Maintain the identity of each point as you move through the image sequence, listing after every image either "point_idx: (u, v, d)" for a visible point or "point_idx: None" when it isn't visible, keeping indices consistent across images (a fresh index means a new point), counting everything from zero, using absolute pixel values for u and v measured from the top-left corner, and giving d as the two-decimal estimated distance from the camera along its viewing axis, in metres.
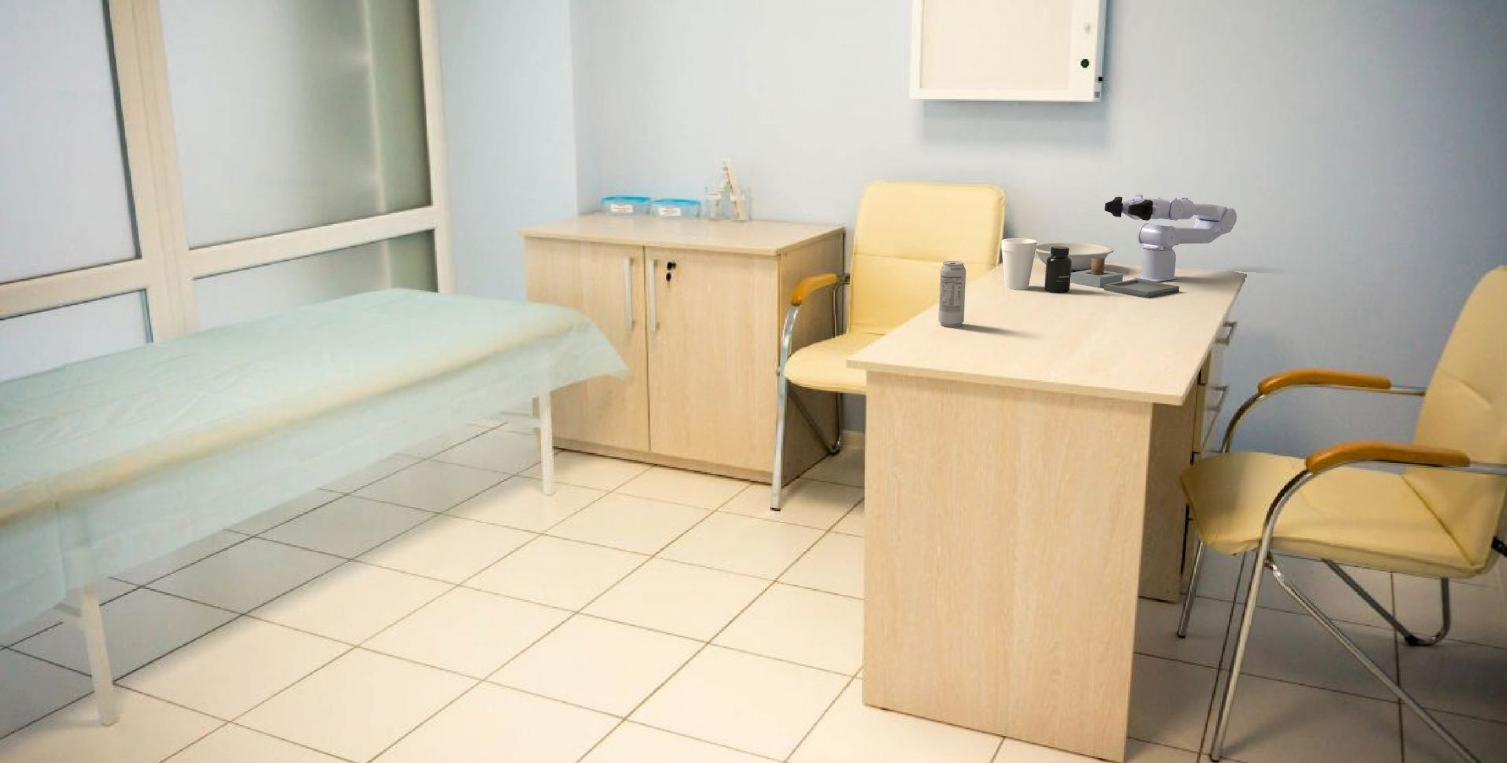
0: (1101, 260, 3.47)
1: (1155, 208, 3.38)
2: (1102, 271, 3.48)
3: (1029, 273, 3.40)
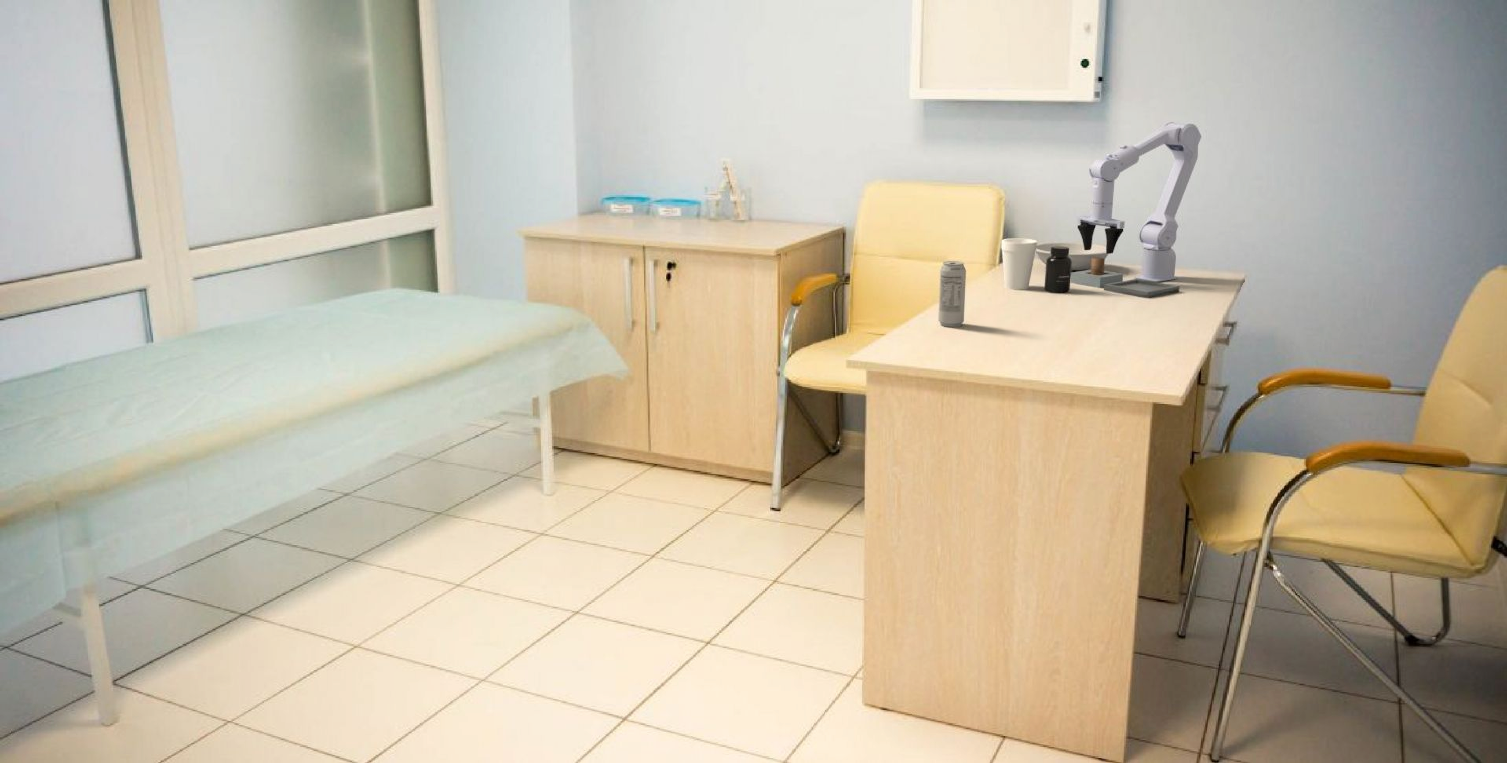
0: (1101, 260, 3.47)
1: (1119, 228, 3.40)
2: (1102, 271, 3.48)
3: (1029, 273, 3.40)
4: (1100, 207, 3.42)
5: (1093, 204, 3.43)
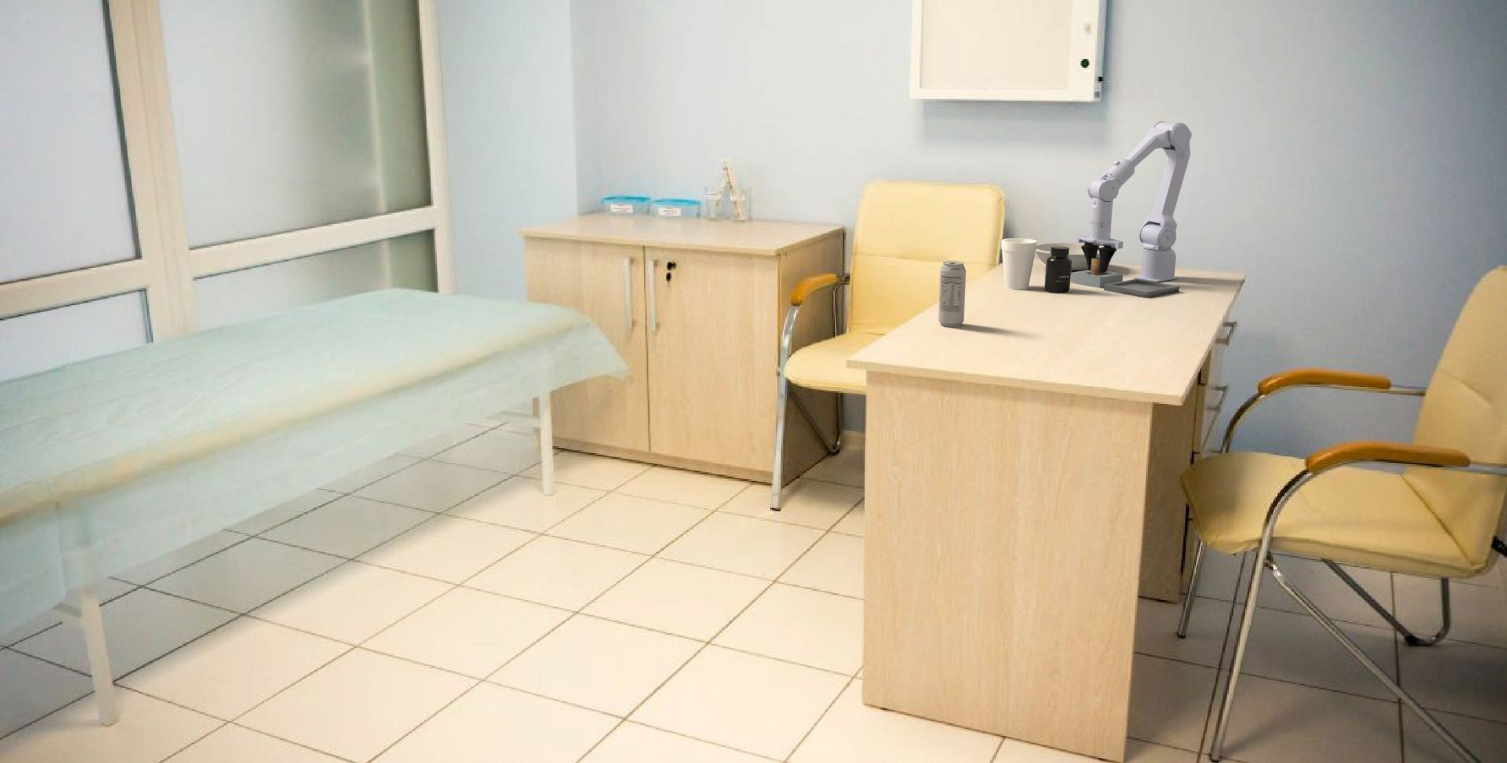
0: None
1: (1118, 248, 3.42)
2: None
3: (1029, 273, 3.40)
4: (1099, 227, 3.44)
5: (1092, 224, 3.45)
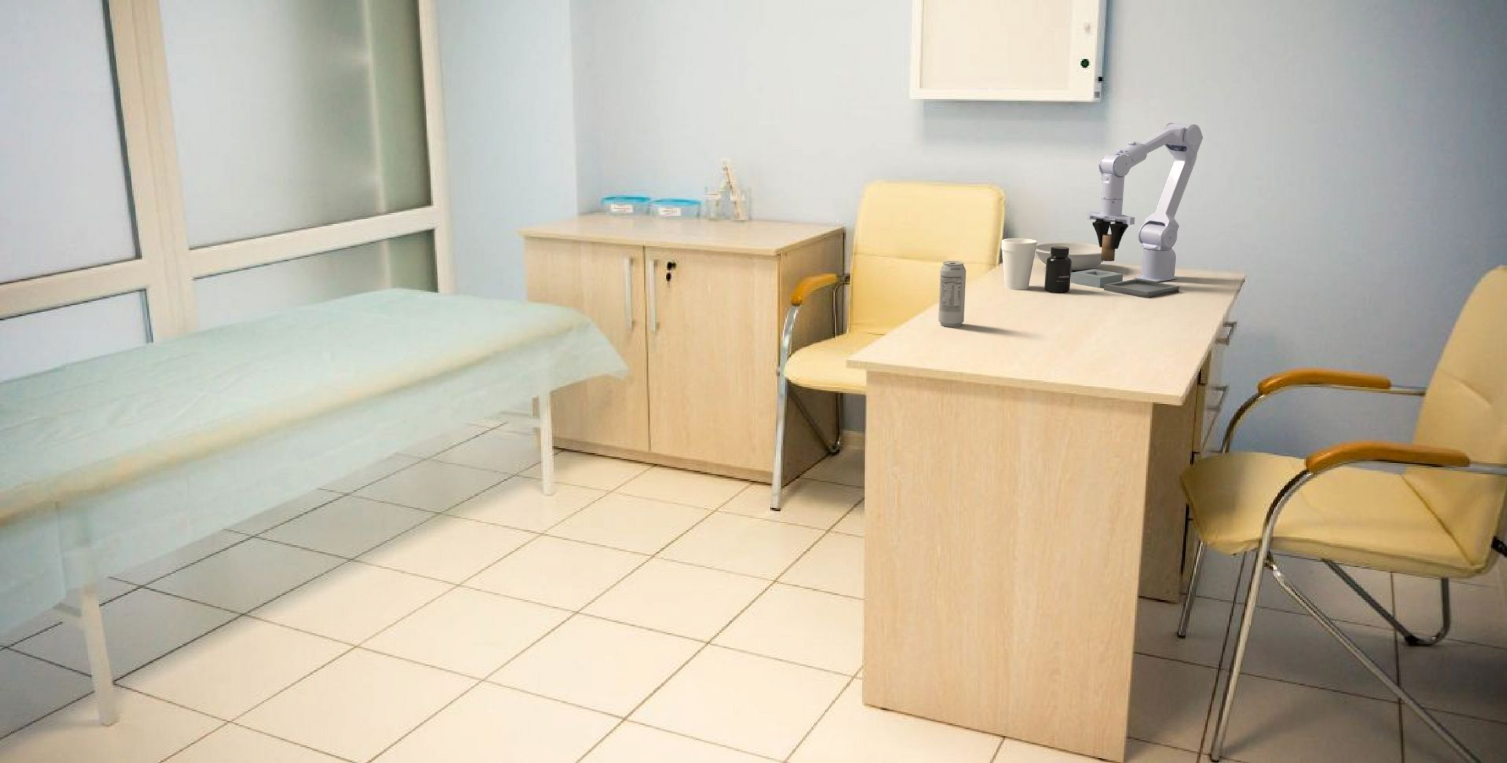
0: None
1: (1129, 224, 3.37)
2: None
3: (1029, 273, 3.40)
4: (1110, 203, 3.39)
5: (1103, 200, 3.41)
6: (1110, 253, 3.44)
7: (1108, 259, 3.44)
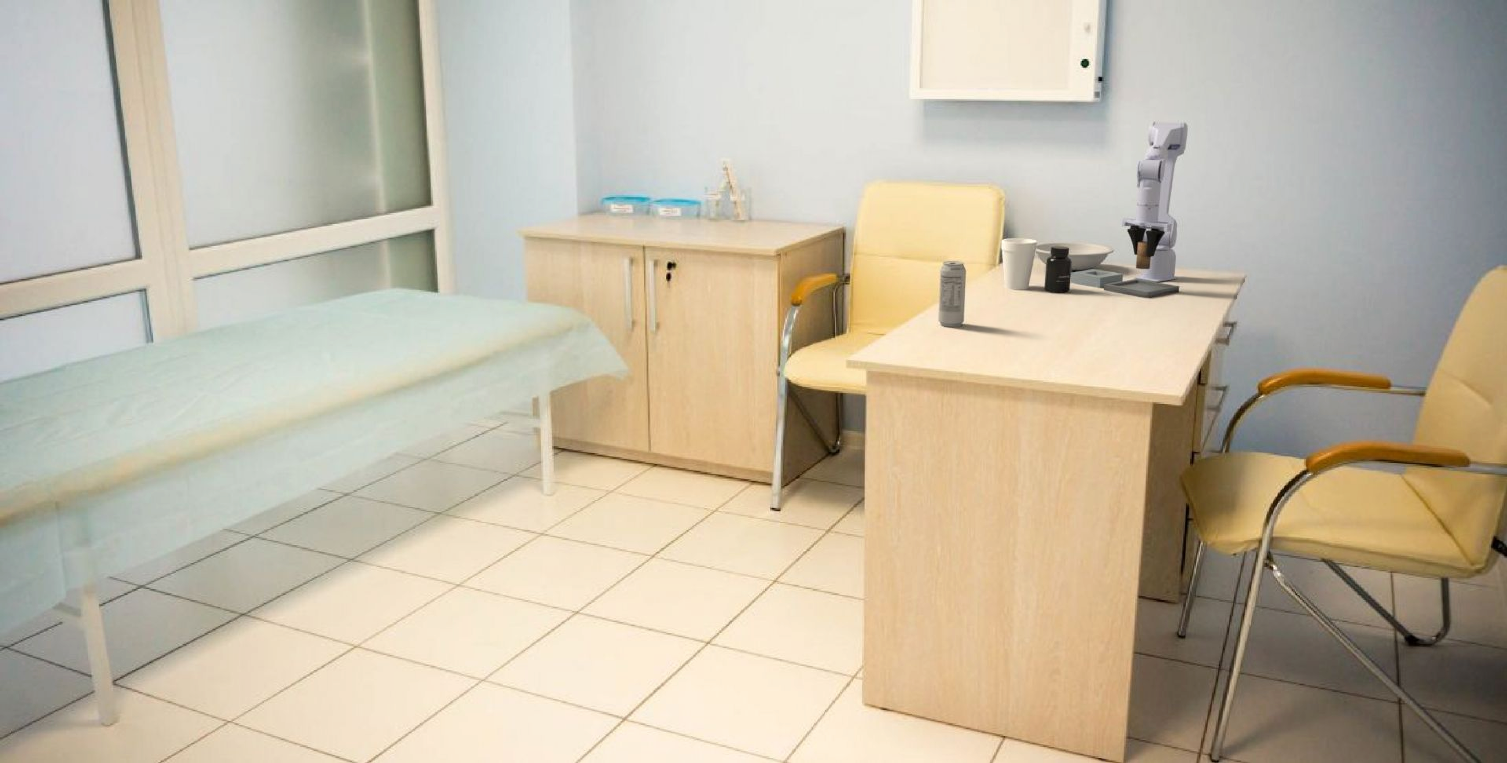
0: None
1: (1166, 231, 3.28)
2: None
3: (1029, 273, 3.40)
4: (1146, 209, 3.30)
5: (1139, 206, 3.32)
6: (1145, 260, 3.35)
7: (1144, 267, 3.35)
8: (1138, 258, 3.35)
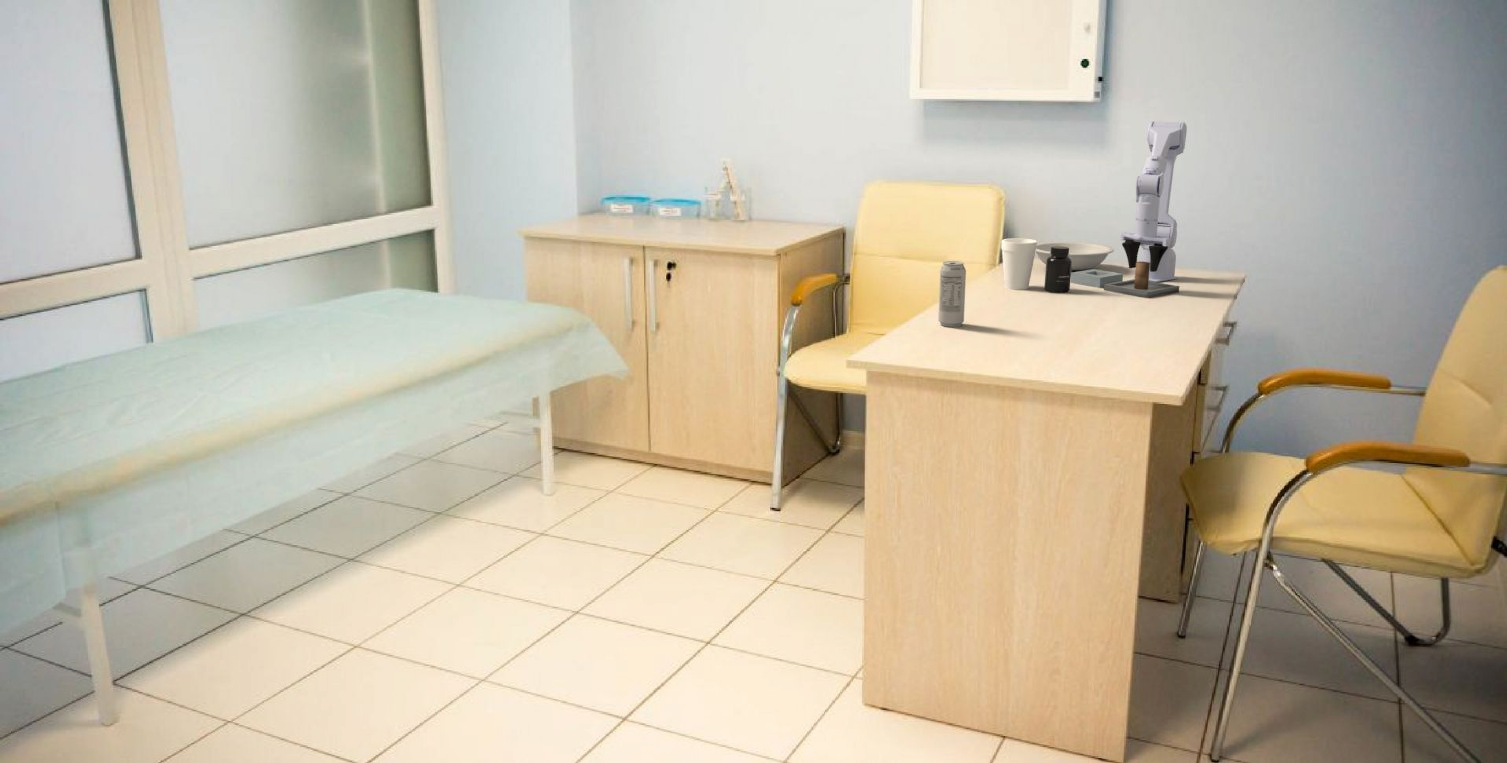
0: (1146, 264, 3.35)
1: (1165, 246, 3.29)
2: (1147, 276, 3.36)
3: (1029, 273, 3.40)
4: (1145, 224, 3.31)
5: (1138, 221, 3.33)
6: (1143, 281, 3.36)
7: (1142, 287, 3.37)
8: (1136, 278, 3.37)
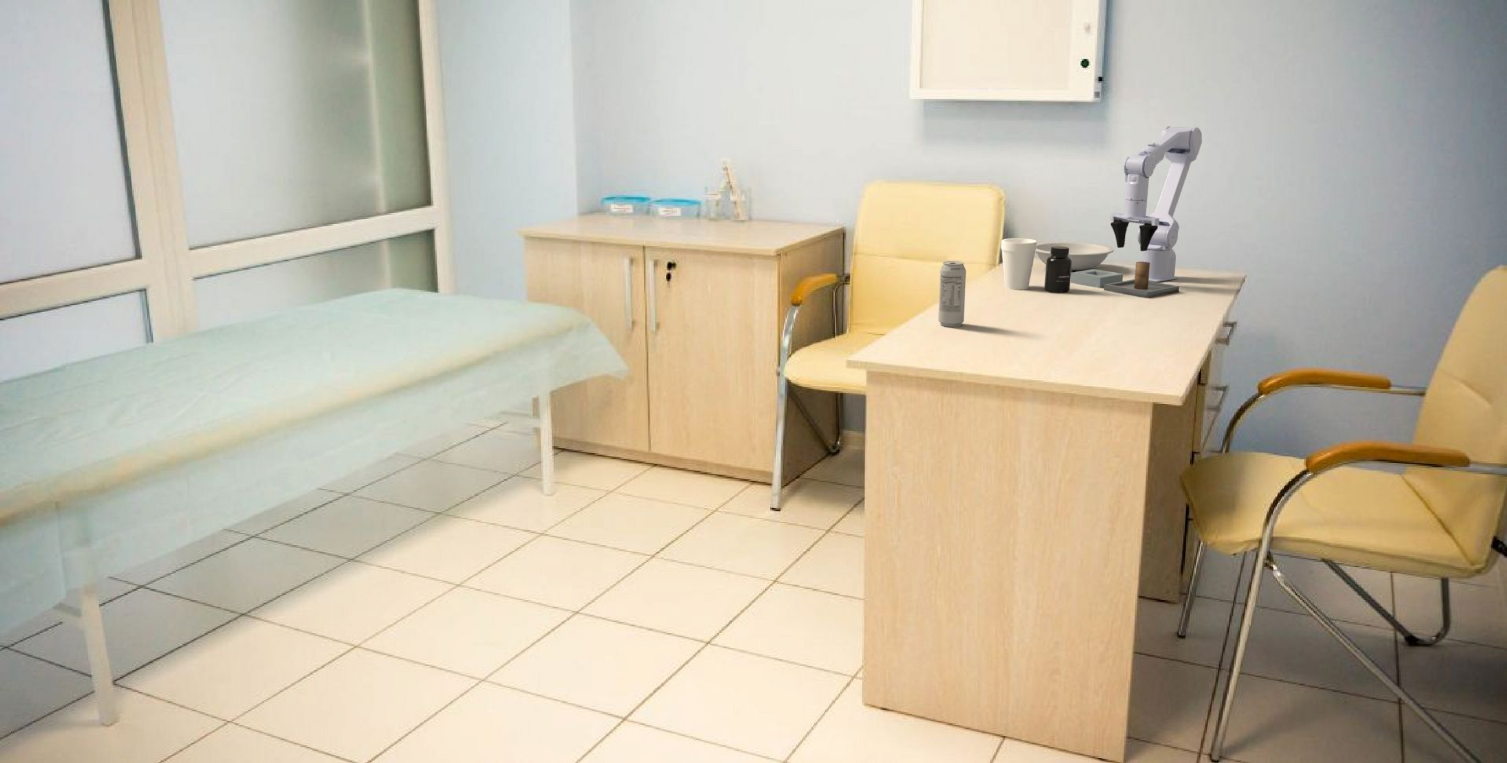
0: (1146, 264, 3.35)
1: None
2: (1147, 276, 3.36)
3: (1029, 273, 3.40)
4: (1134, 204, 3.37)
5: (1127, 201, 3.39)
6: (1143, 281, 3.36)
7: (1142, 287, 3.37)
8: (1136, 278, 3.37)
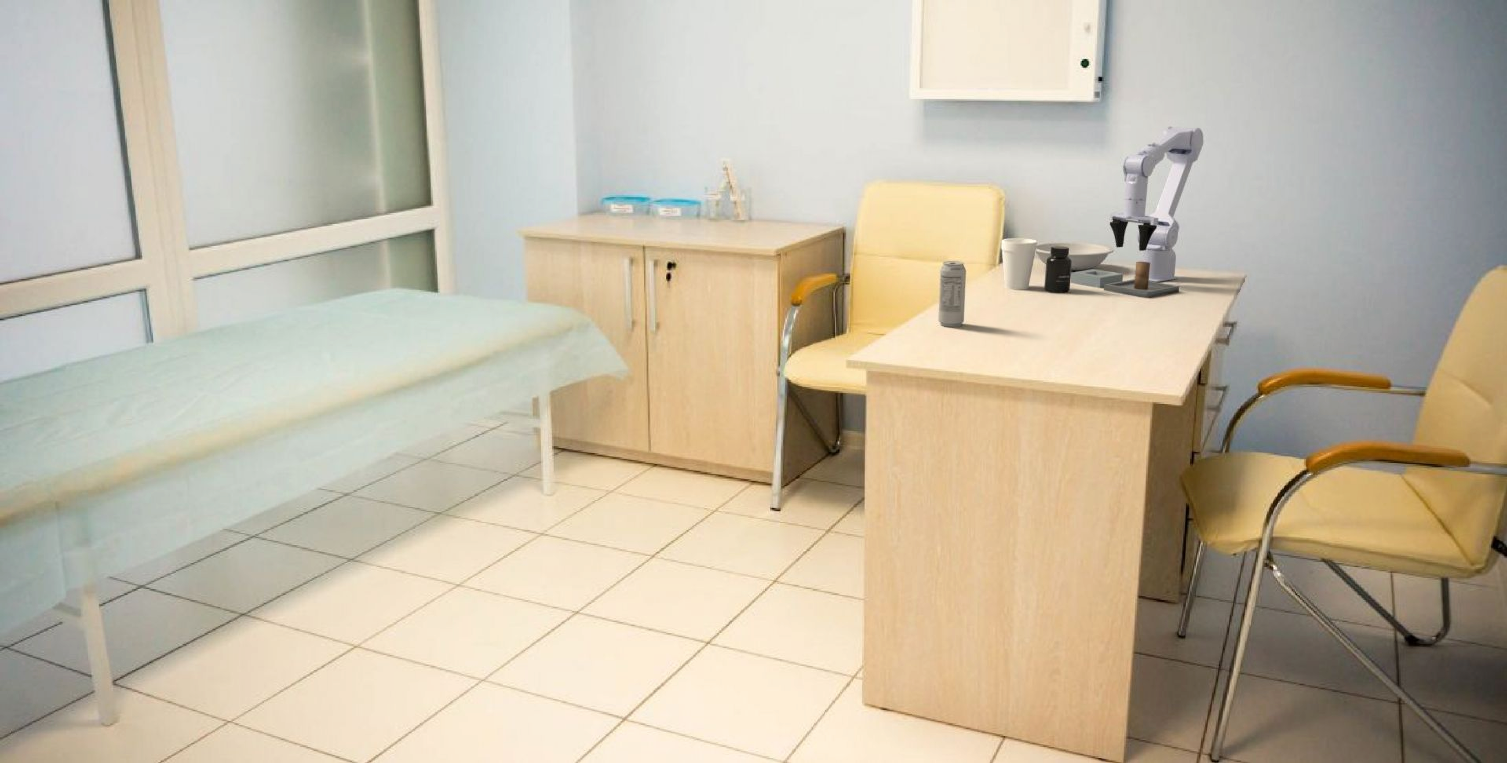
0: (1146, 264, 3.35)
1: (1153, 225, 3.36)
2: (1147, 276, 3.36)
3: (1029, 273, 3.40)
4: (1133, 203, 3.38)
5: (1126, 200, 3.39)
6: (1143, 281, 3.36)
7: (1142, 287, 3.37)
8: (1136, 278, 3.37)
